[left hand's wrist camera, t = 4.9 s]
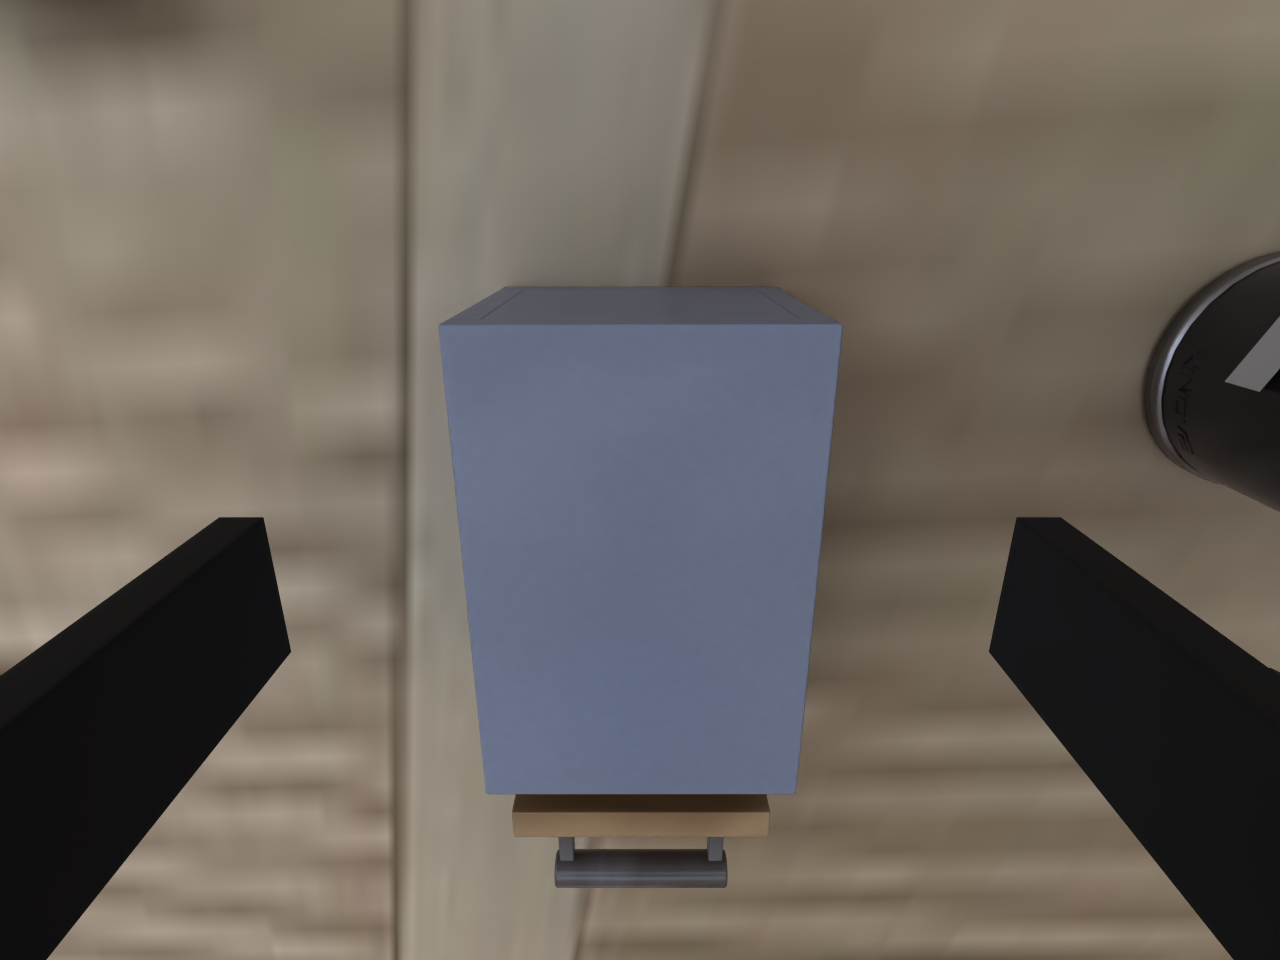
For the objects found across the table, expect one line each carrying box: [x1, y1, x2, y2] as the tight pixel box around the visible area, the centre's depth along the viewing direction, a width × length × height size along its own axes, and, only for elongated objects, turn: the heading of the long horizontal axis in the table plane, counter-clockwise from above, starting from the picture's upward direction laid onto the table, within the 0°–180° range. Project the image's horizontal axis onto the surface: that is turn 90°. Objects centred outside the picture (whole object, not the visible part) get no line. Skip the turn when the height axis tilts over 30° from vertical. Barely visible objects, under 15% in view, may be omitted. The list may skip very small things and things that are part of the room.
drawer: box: [512, 794, 770, 888], centre depth 28 cm, size 20×10×8 cm, turn 0°
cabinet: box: [439, 287, 843, 794], centre depth 26 cm, size 16×11×10 cm
